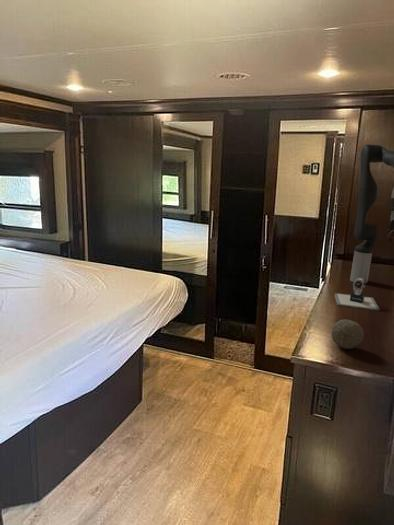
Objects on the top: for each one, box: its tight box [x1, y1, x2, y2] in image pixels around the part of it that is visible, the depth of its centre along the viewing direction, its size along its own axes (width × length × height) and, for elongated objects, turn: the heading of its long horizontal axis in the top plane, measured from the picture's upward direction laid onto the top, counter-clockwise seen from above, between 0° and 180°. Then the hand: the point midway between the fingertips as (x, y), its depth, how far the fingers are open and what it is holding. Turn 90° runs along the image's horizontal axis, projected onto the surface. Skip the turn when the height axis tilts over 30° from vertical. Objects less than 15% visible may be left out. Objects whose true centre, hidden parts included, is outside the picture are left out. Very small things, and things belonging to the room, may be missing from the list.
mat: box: [334, 292, 381, 312], centre depth 187 cm, size 18×18×1 cm
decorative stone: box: [331, 318, 365, 350], centre depth 136 cm, size 10×8×10 cm
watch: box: [350, 278, 366, 303], centre depth 186 cm, size 6×8×11 cm
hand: (393, 231), depth 193 cm, fingers open, 8 cm apart
